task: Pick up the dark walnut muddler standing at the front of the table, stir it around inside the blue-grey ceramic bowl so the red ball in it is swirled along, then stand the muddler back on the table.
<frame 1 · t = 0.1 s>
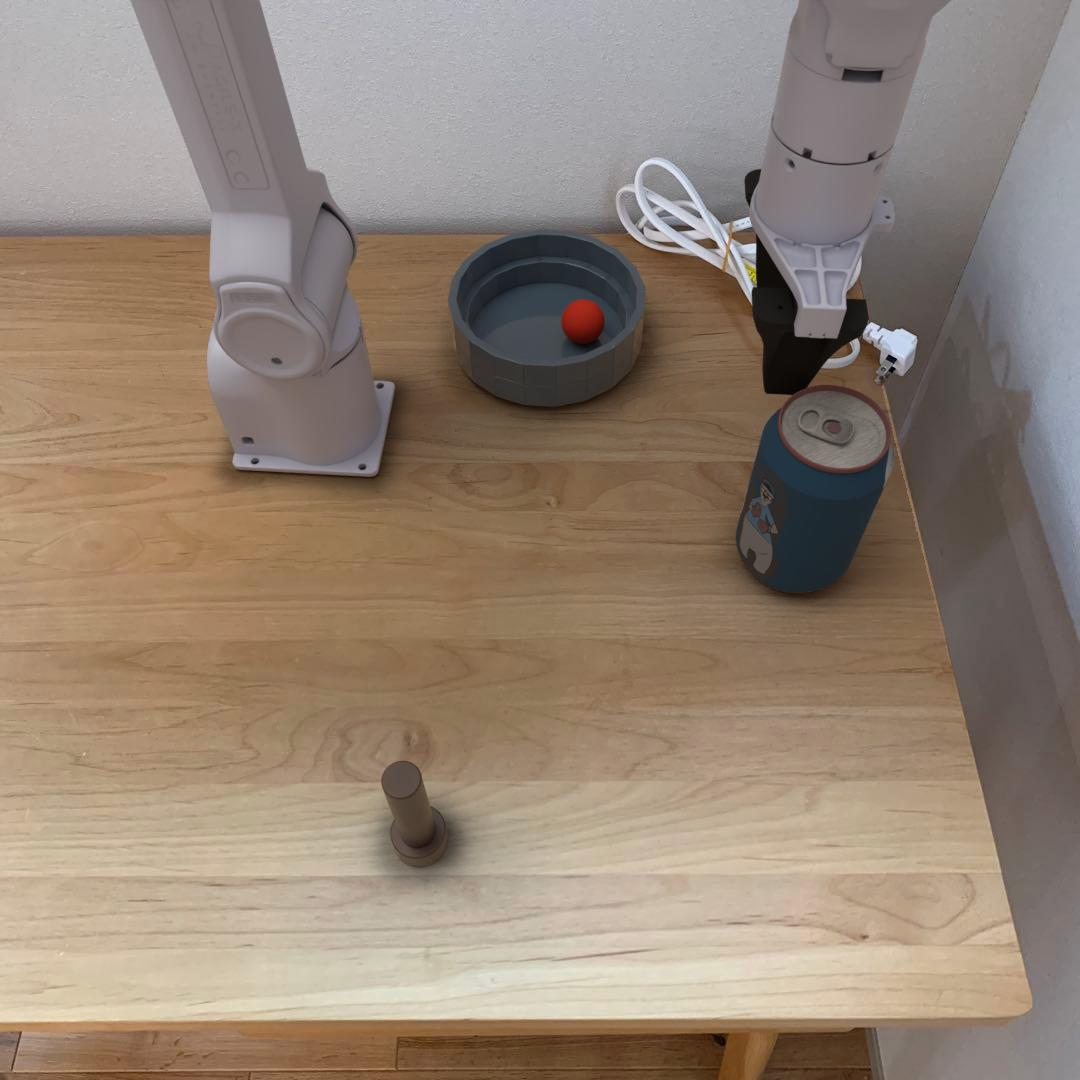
hand: (778, 340, 59), 10 cm above the table, tool pointing down, fingers open, 7 cm apart
red ball: (583, 321, 71), point 2 cm above the table, touching bowl
muddler: (421, 839, 53), on the table
bowl: (547, 341, 73), on the table
soda can: (789, 556, 63), on the table
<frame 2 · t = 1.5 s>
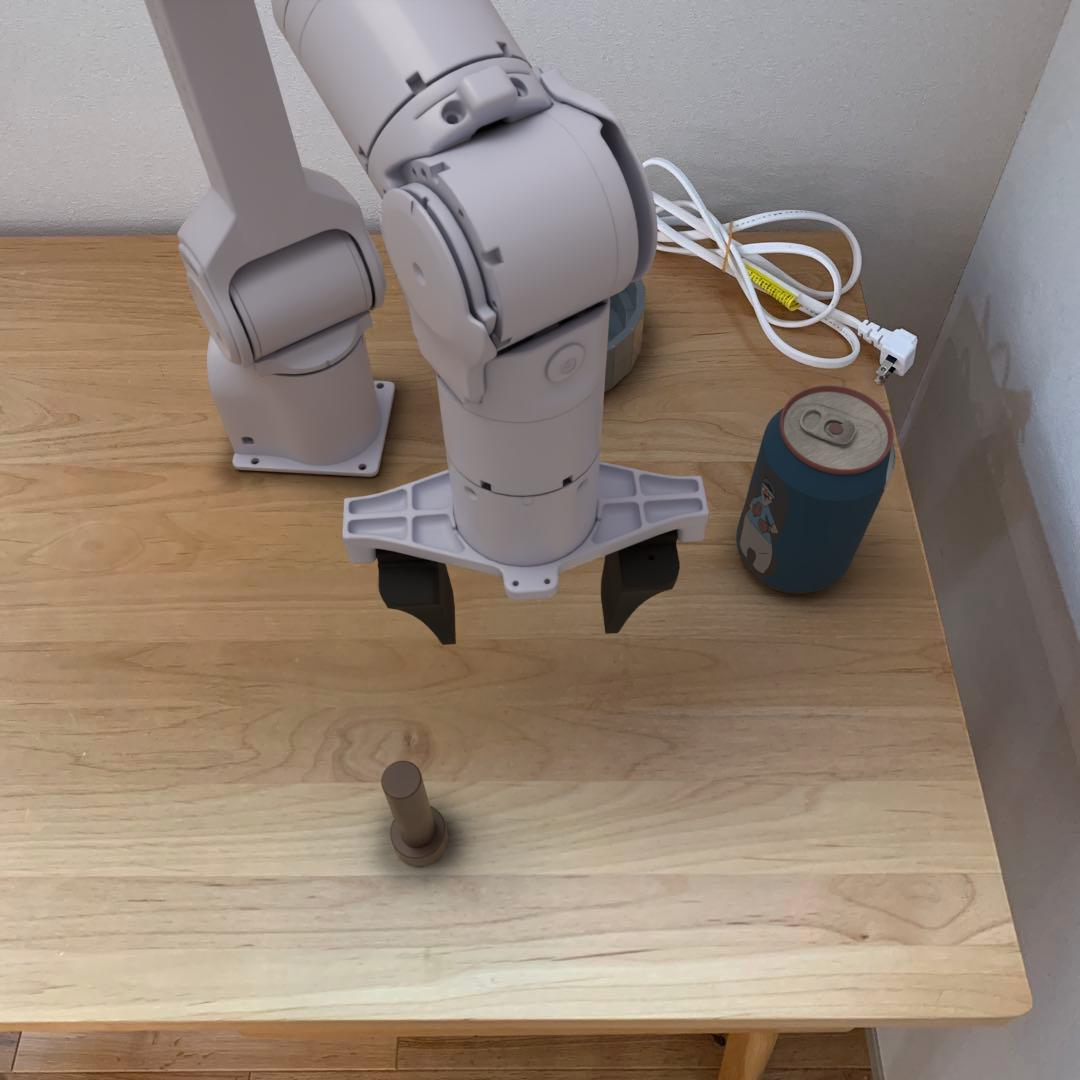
hand: (529, 620, 48), 10 cm above the table, tool pointing down, fingers open, 7 cm apart
nothing on the table moved.
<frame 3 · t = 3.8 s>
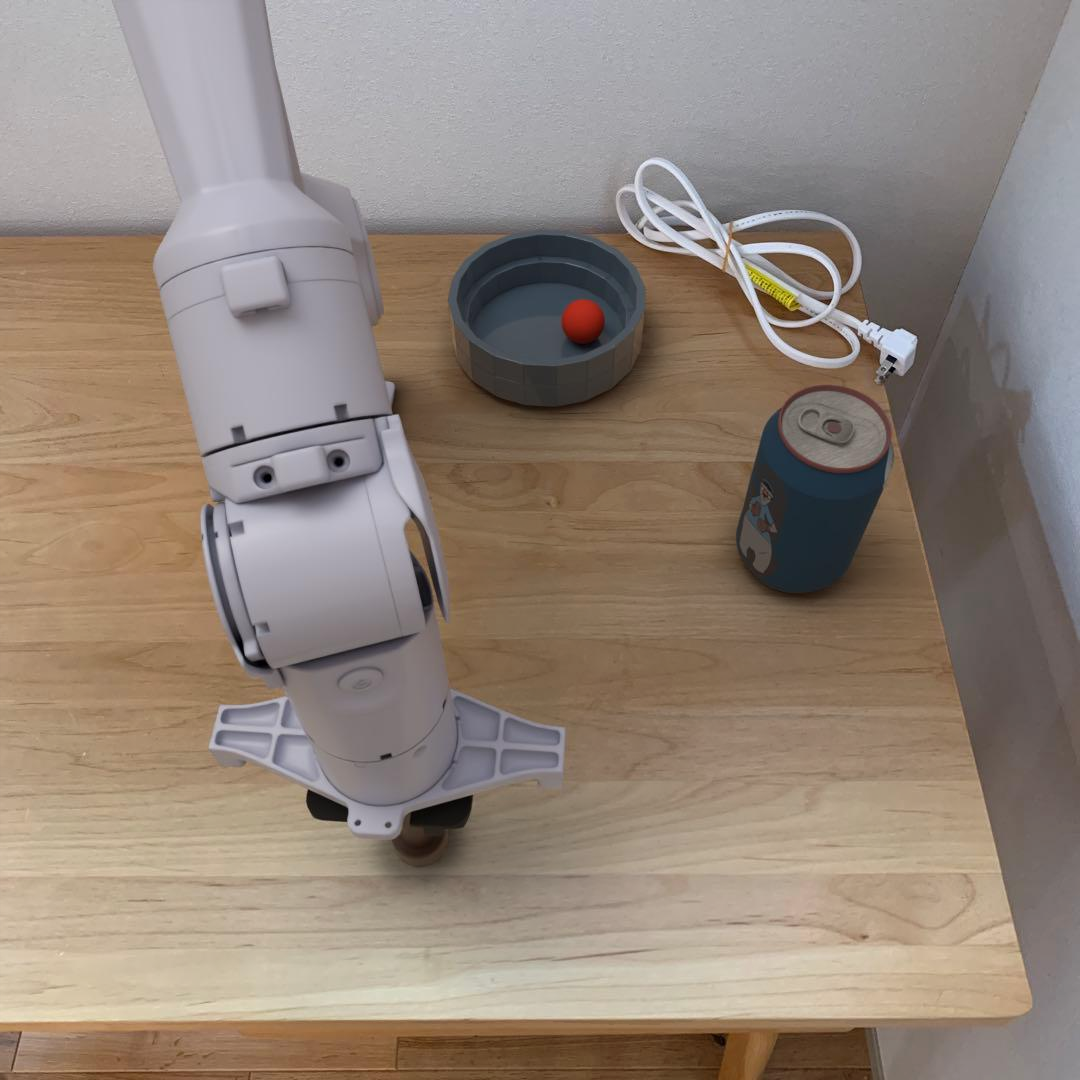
hand: (412, 814, 49), 4 cm above the table, tool pointing down, fingers closed on muddler, 2 cm apart
muddler: (421, 839, 53), on the table, touching gripper
everything else where it was.
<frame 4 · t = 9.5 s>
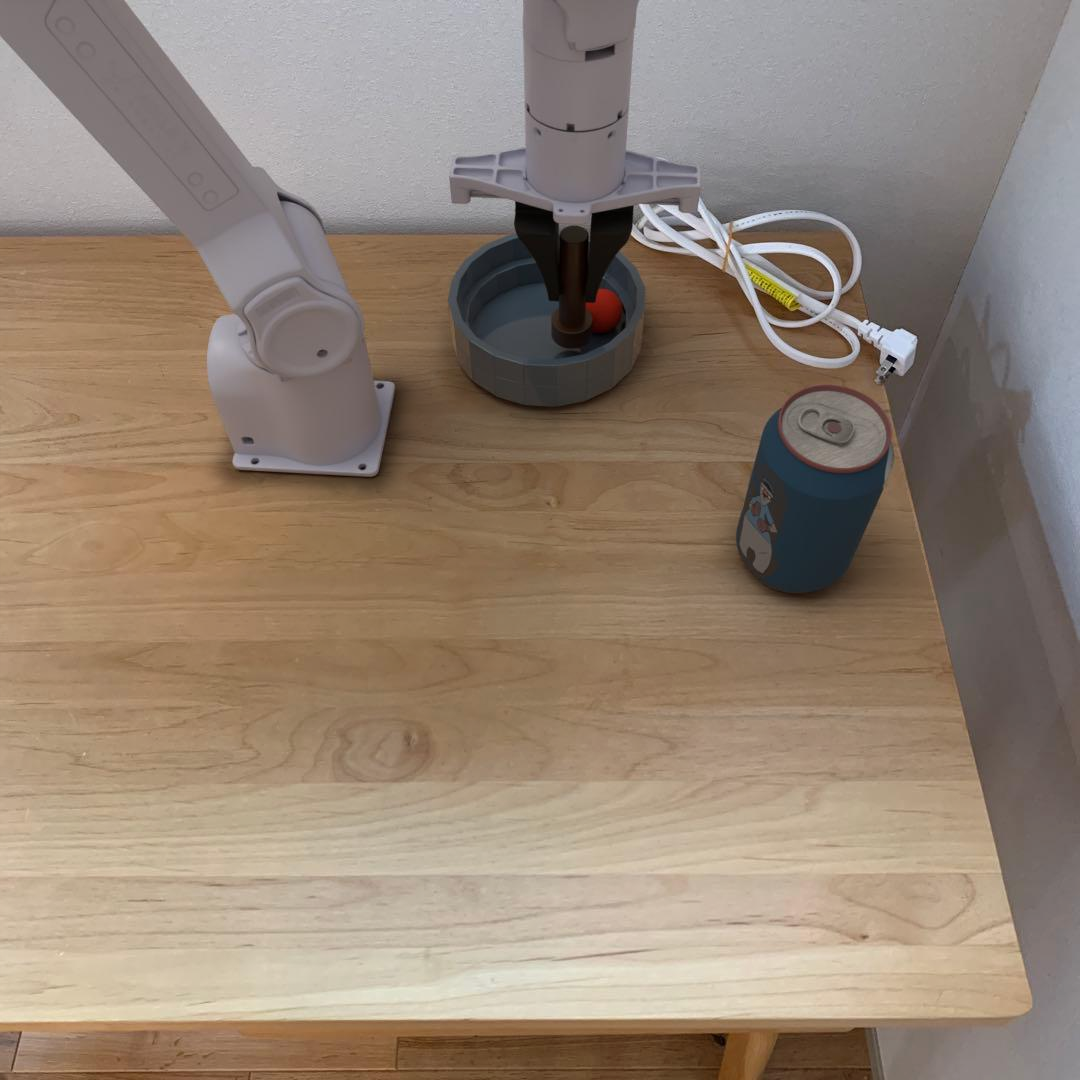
hand: (572, 291, 67), 6 cm above the table, tool pointing down, fingers closed on muddler, 2 cm apart
red ball: (600, 311, 71), point 2 cm above the table, tilted 62°, touching bowl
muddler: (571, 334, 70), point 2 cm above the table, touching gripper
everything else where it was.
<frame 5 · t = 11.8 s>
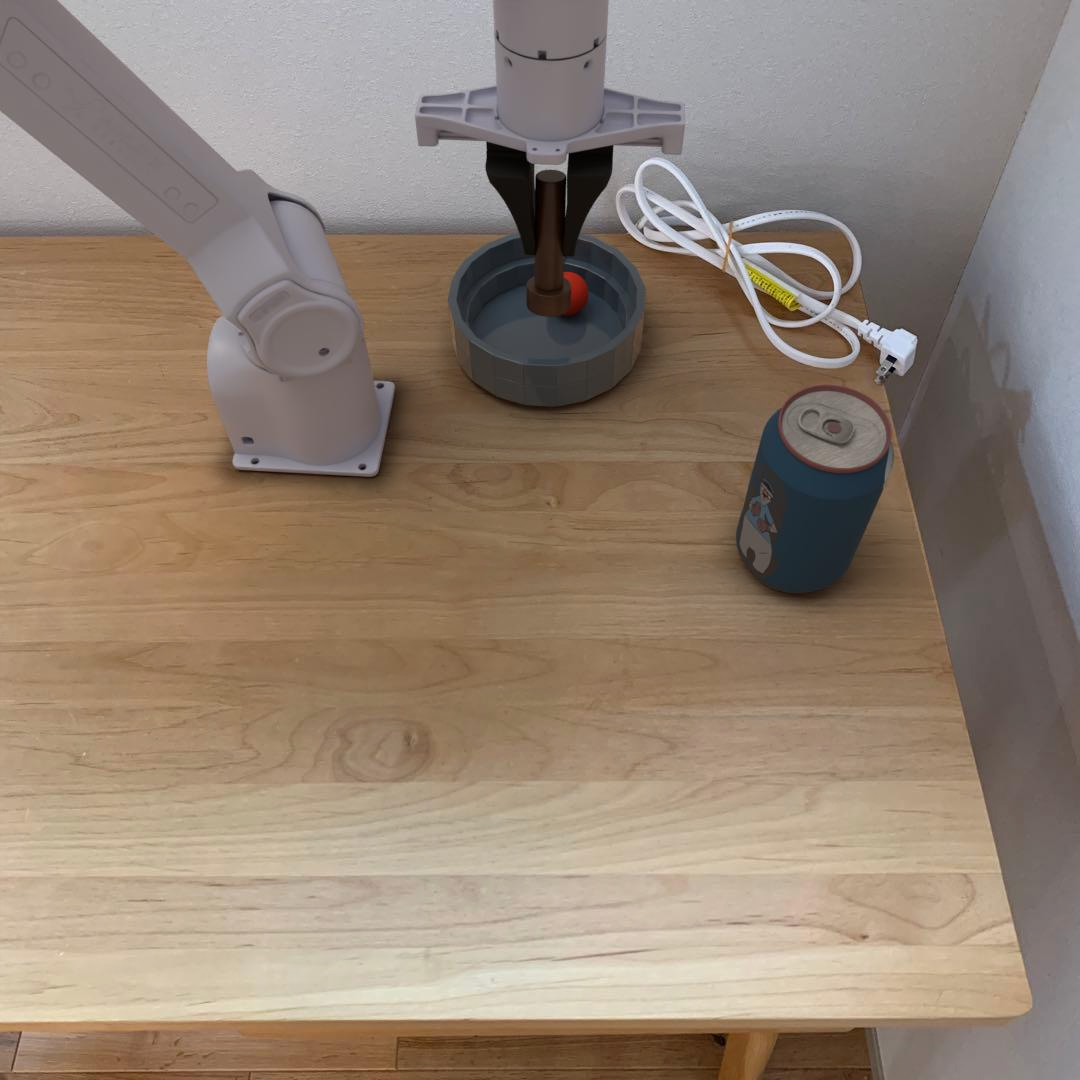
hand: (549, 245, 63), 10 cm above the table, tool pointing down, fingers closed on muddler
red ball: (567, 293, 72), point 2 cm above the table, tilted 38°, touching bowl
muddler: (548, 305, 65), point 7 cm above the table, tilted 12°, touching gripper
everything else where it was.
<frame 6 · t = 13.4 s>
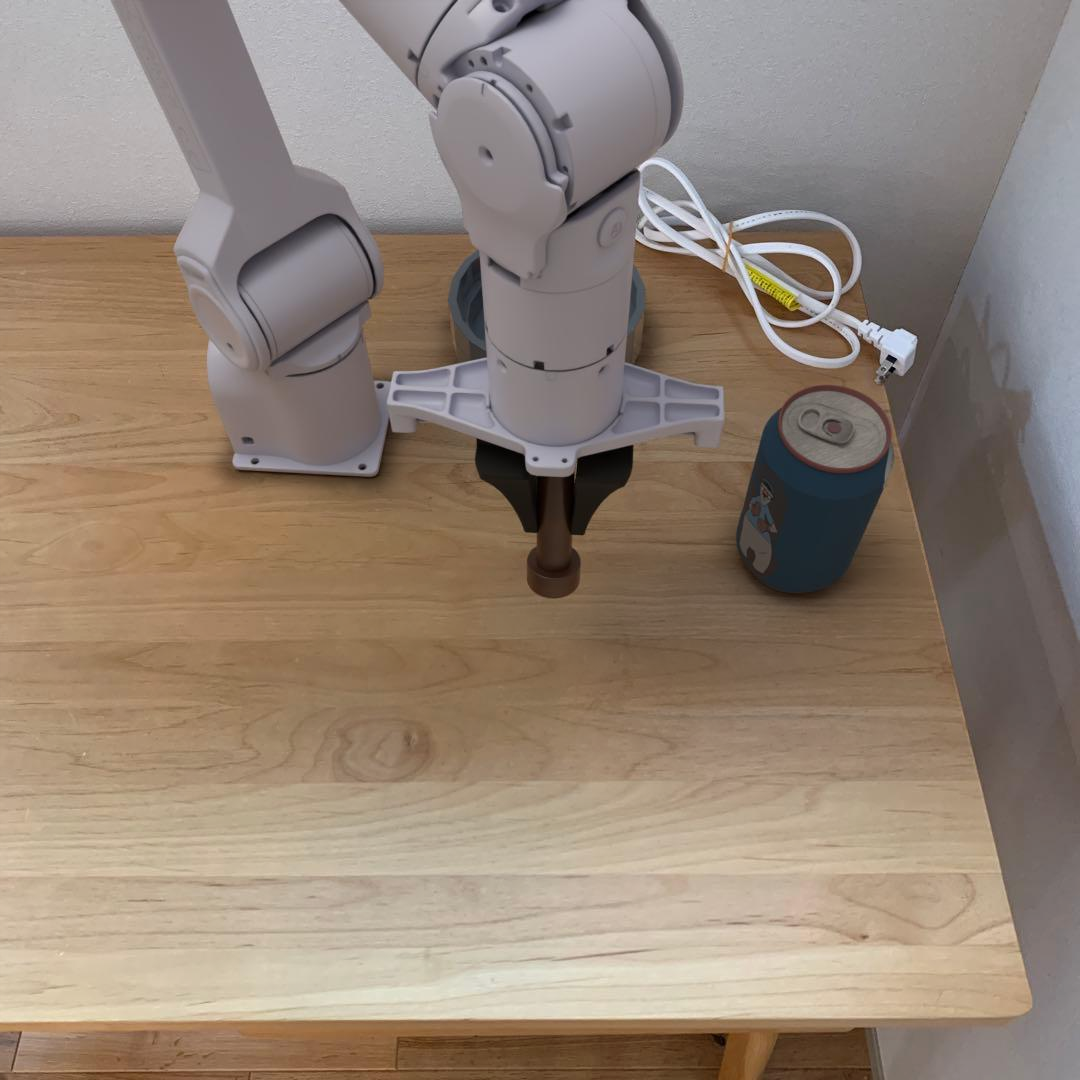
hand: (555, 518, 52), 10 cm above the table, tool pointing down, fingers closed on muddler
red ball: (529, 283, 73), point 2 cm above the table, tilted 122°, touching bowl
muddler: (553, 579, 54), point 6 cm above the table, tilted 12°, touching gripper
everything else where it was.
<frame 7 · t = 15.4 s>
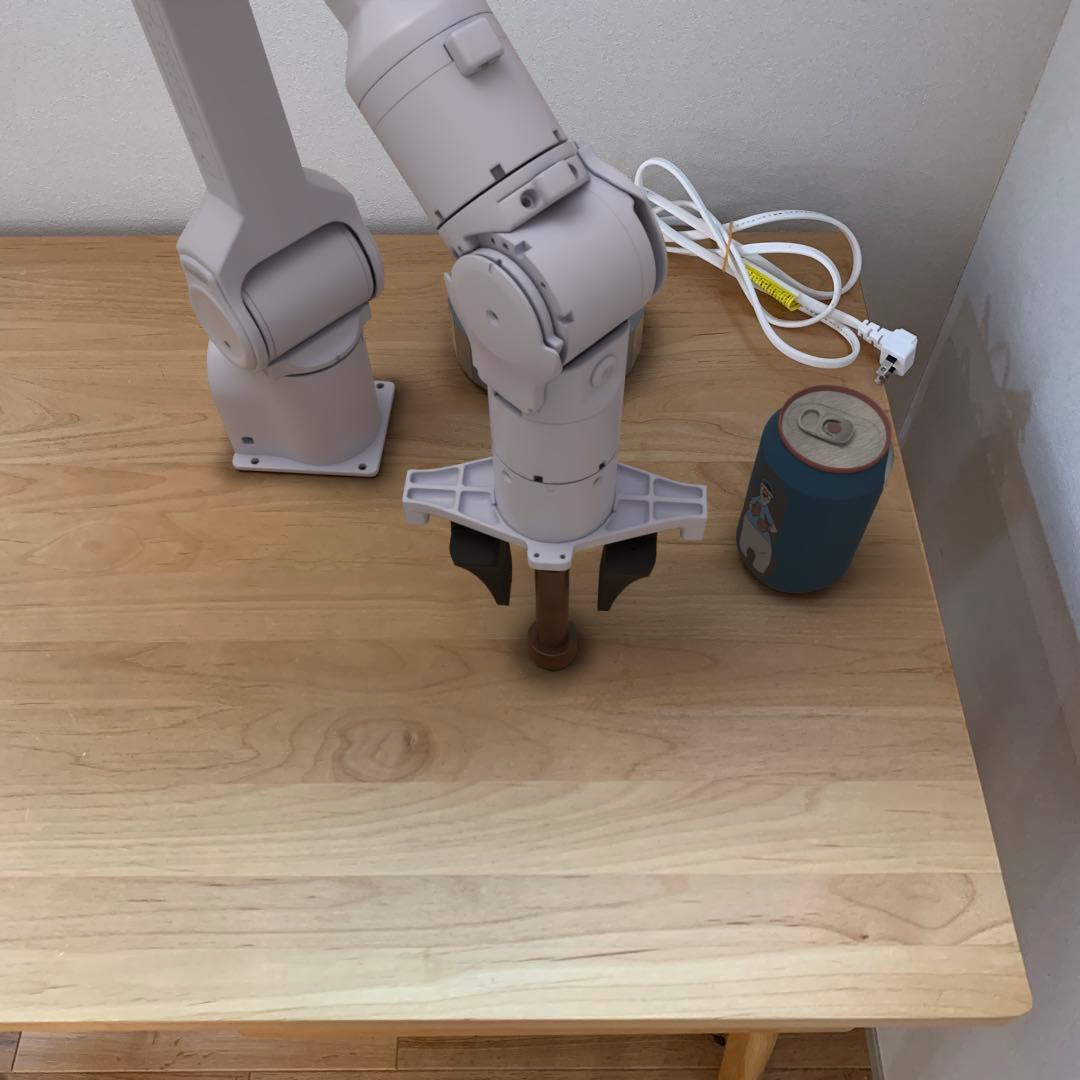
hand: (554, 592, 57), 4 cm above the table, tool pointing down, fingers open, 5 cm apart
muddler: (552, 649, 59), on the table
everything else where it was.
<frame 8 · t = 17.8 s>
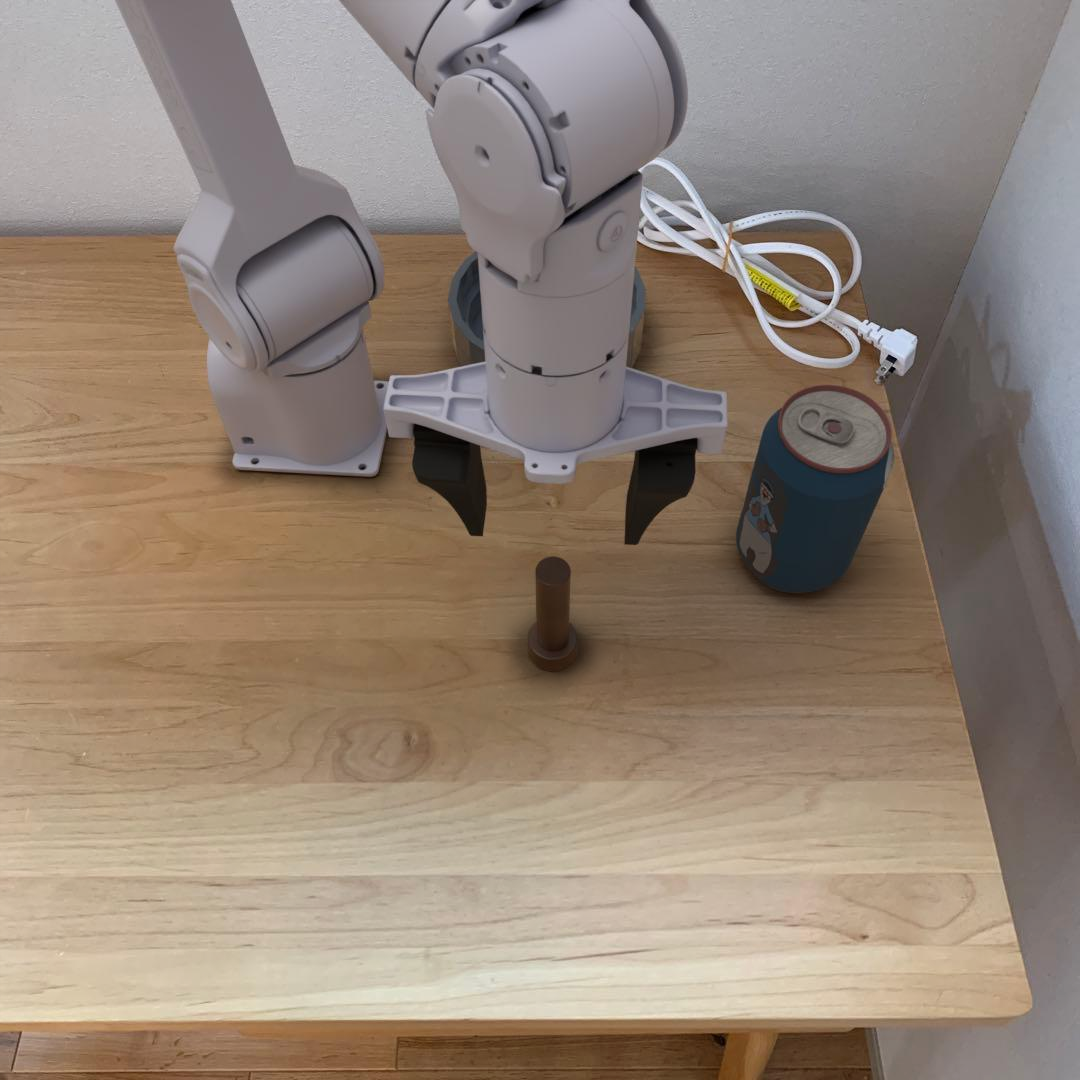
hand: (554, 524, 51), 10 cm above the table, tool pointing down, fingers open, 7 cm apart
nothing on the table moved.
at the end: red ball moved 5.3 cm from its start; red ball inside the target area in the bowl (3.8 cm from its centre), point 2.1 cm above the bowl's base; muddler inside the target area (1.5 cm from its centre), on the table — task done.
